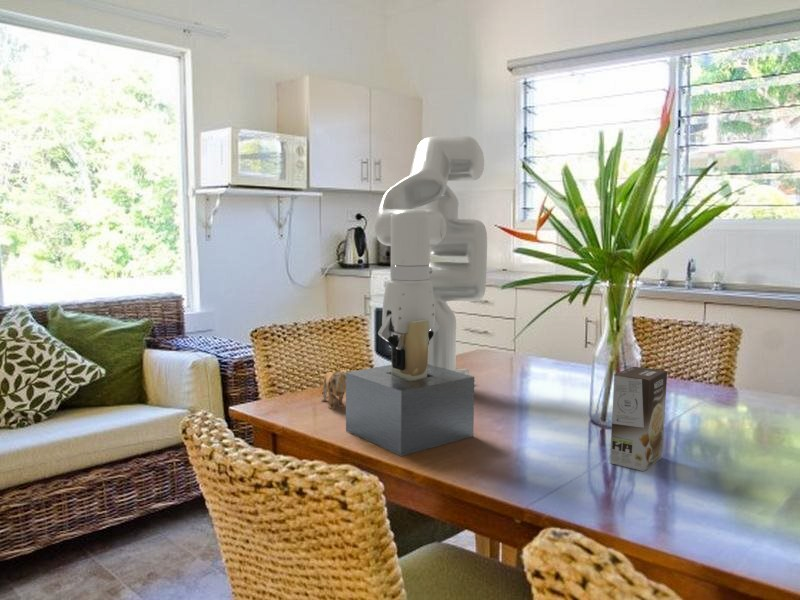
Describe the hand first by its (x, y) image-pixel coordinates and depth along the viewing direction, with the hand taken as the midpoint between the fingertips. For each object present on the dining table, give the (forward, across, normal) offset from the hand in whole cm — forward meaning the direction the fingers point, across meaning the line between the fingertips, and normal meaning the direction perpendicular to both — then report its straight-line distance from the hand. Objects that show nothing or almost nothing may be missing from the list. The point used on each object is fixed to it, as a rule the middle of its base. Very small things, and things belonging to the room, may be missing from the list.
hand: (409, 365), depth 132 cm
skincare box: (+3, 0, 0) cm, 3 cm away
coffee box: (+14, -23, +36) cm, 45 cm away
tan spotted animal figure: (+14, 0, -27) cm, 30 cm away
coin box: (+14, 0, 0) cm, 14 cm away
